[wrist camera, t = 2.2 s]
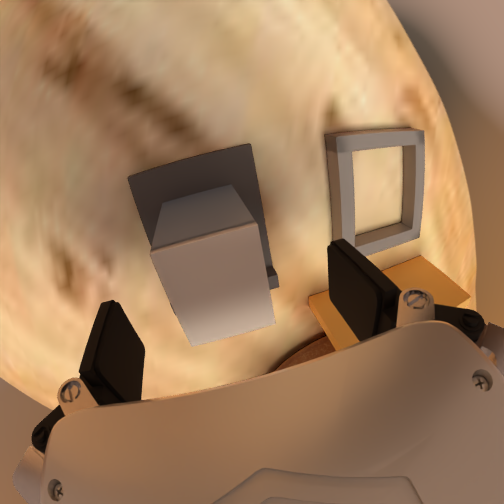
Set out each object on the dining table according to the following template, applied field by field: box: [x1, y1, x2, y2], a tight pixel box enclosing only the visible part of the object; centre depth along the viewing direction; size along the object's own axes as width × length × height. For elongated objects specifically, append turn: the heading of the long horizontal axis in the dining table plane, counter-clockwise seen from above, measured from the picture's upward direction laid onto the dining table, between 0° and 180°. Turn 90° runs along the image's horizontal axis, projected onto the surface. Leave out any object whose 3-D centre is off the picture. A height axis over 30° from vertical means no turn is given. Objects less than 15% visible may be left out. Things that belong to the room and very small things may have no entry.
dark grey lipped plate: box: [128, 144, 279, 315], centre depth 16 cm, size 9×7×2 cm
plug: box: [150, 184, 276, 347], centre depth 13 cm, size 5×4×6 cm
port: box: [308, 128, 471, 351], centre depth 16 cm, size 13×12×7 cm
